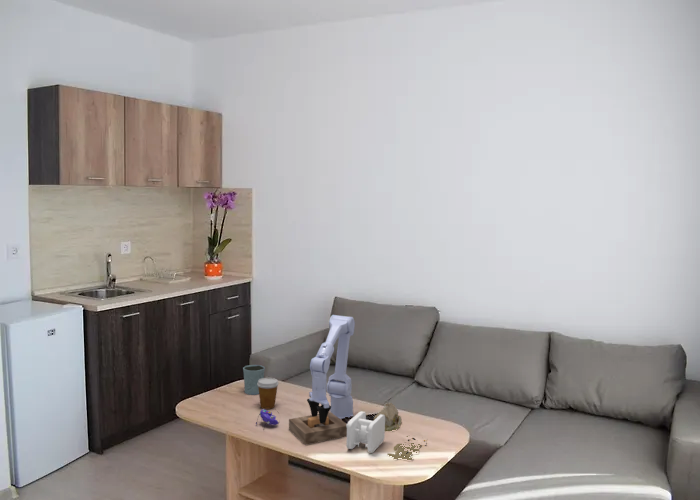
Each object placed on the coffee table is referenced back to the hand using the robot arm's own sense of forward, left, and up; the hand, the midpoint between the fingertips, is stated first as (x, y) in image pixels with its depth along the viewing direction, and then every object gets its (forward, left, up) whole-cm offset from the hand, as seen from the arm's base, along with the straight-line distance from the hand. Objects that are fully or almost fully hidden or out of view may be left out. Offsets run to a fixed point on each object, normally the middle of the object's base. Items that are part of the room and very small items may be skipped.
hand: (318, 419), depth 247 cm
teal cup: (+7, -57, -6) cm, 58 cm away
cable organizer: (-11, +19, -6) cm, 23 cm away
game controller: (+16, -16, -6) cm, 24 cm away
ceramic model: (-30, +5, -6) cm, 31 cm away
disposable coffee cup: (+8, -36, -6) cm, 37 cm away
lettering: (-26, +28, -6) cm, 38 cm away
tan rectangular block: (0, 0, -4) cm, 4 cm away
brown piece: (0, 0, -6) cm, 6 cm away
